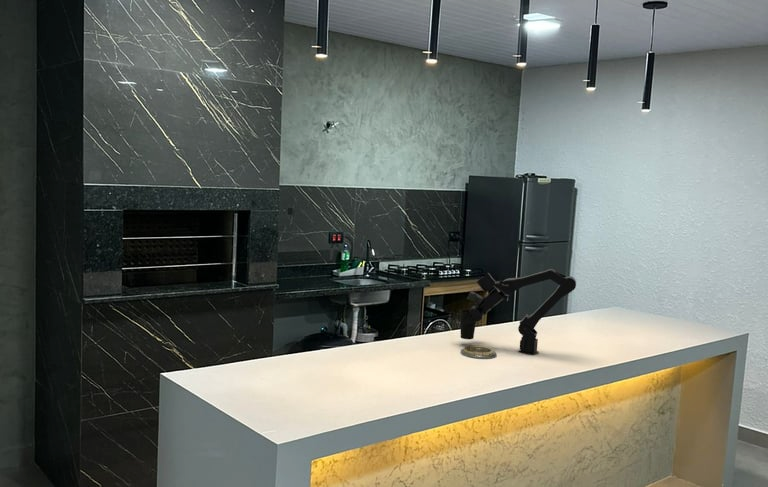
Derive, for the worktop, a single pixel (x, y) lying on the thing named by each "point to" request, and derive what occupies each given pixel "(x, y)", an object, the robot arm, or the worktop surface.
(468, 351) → the flange plate
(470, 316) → the robot arm
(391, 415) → the worktop surface
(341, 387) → the worktop surface
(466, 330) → the cup
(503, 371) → the worktop surface
